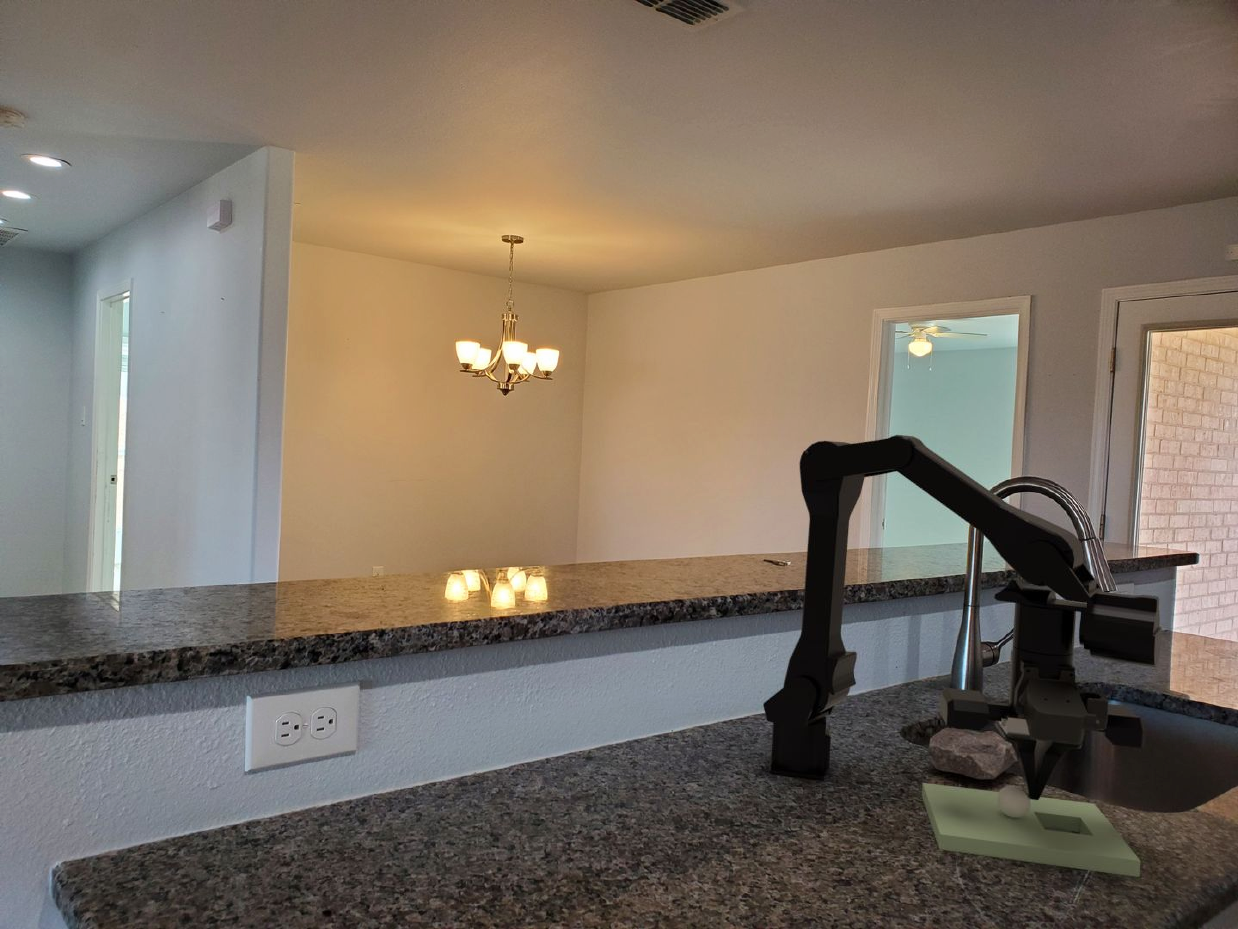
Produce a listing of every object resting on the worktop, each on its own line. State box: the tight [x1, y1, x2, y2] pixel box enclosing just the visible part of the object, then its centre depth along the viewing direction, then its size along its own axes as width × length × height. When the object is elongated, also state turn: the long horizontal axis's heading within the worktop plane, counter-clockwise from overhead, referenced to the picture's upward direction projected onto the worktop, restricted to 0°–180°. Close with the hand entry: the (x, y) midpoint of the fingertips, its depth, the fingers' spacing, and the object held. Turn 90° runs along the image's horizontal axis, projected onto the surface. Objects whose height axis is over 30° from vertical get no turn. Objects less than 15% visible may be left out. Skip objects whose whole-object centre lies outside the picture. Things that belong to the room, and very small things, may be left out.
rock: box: [928, 727, 1018, 780], centre depth 111 cm, size 8×11×5 cm
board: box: [921, 782, 1141, 878], centre depth 94 cm, size 18×14×2 cm
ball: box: [997, 784, 1030, 818], centre depth 94 cm, size 3×3×3 cm
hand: (1033, 798), depth 94 cm, fingers closed
